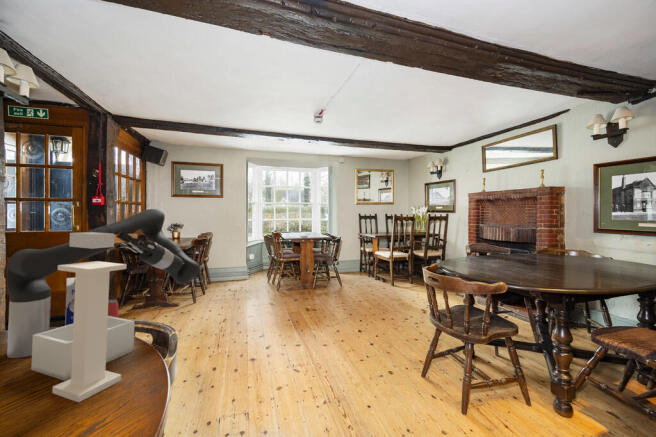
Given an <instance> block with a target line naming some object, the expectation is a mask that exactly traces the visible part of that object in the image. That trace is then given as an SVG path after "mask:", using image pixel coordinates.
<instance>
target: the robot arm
mask: <svg viewBox="0 0 656 437" xmlns="http://www.w3.org/2000/svg"><path fill="white" fill-rule="evenodd" d="M165 217H166V216H165V213H164V212H163V211H162V210H160V209H158V208H157V209H156V208H150V209H146V210H142V211H141V212H138V213H136V214H133V215H131V216H129V217H126V218H123V219H121V220H117V221H115V222H112V223H109V224H106V225H102V226H100V227H97V228H93V229H90V230H87V231H86V232H96V233H111V234H114V235H115V234H118V236H117V237H118V238H120V239H122V240H124V241H126V243H114V247H106V248H93V249H91V248H81V247H70V241H68V242H65V243H63V244H59V245H56V246H52V247H48V248H44V249H38V248H37V249H35V248H25V249H21V250H17V251H16V252H15V253H13V254H12V255H11V256H10V258H9V259H8V262H7V266H6V289H7V293H8V296H9V304H8V326H7V327H8V329H7V331H8V332H7V352H6V357H7V358H9V359H20V358H26V357H32V343H33V335H34V334H38V333H41V332H45V331H48V330H50V324H51V323H50V322H51V320H50V319H51V300H52V299H51V298H52V291H51V290H52V289H51V287H50V286H49V285H48V283H47V280H46V279H47V278H46V277H49V276H50V275H52V274H54V273H56V272H58V271H59V270H58V265H65V264H74V263H77V262H79V261H82V260H84V259H87V258H90V257H93V256H95V255H98V254H100V253H103V252H106V251H108V250H110V249H113V248H116V247H117V246H119V245H120V246H121V247H122V248H124V249H125V250H128V249H129V250H131V251H132V252H134V253H138V258H139V260H140V261H142V262H144V263H146V264H148V265H150V266H152V267H154V268H157V269H159V270H162V271H164V272H165V273H167V274H168V275H170V276H171V277H172V278H173V279H174V280H175V282H176V283H178V284H179V285H186V284H188V283H189V282H190V281H191V280H192V279H194V278H195V277H196V276H197V275H198V274H199V273H200V272H201V266H200V264H199V263H198V262H197V261H195V260H193V259H192V258H191V257H189V256H188V255H187V254H186V253H185V252H184V250H183V249H182V248H181V247H180V244H178V243H177V242H176V241H174V240H172V239H169V238H167V237H166V236H165V234H164V232H163V227H164V223H165V219H166V218H165ZM139 230H140V232H141V234H143V235H144V236H145V237H146V238H147V239H148V240H149V241H148V240H145V239H143V238H141V237H137V238H136V237H134V236H132V237H131V236H130V235H128V234H135V233H136V232H137V231H139Z"/></svg>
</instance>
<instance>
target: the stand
mask: <svg viewBox="0 0 656 437" xmlns="http://www.w3.org/2000/svg"><path fill="white" fill-rule="evenodd" d="M127 265H128V264H126V263H118V262H117V263H116V262H109V261H100V260H95V261H85V262H74V263H72V264H65V265H58V271H62V272H69V273H75V277H74V278H75V300H74V324H73V347H72V370H71V378H70V379H68V380H66V381H63V382H60V383H58V384H55V385H53V386H52V392H51V393H52V394H54V395H57V396H59V397H63V398H65V399H68V400H71V401H73V402H76V403H81V402H83V401H85V400H86V399H88V398H90V397H92V396H94V395H96V394H99V393H100V392H101V391H104V390H105V389H108V388H109V387H111V386H113V385H116V384H118V383H119V382H121V381H122V374H120V373H116V372H113V371H109V370H106V367H107V366H106V365H107V363H106V345H107V321H108V300H109V293H110V272H114V271H120V270H126V269H127Z"/></svg>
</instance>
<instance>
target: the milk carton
mask: <svg viewBox="0 0 656 437" xmlns="http://www.w3.org/2000/svg"><path fill="white" fill-rule="evenodd" d="M65 282H66V283H65V285H66V286H65V287H66V294H65V315H64V316H65V320H64V326H66V325H70V324H73V323H74V300H75V277H66V281H65Z"/></svg>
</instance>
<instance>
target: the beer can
mask: <svg viewBox="0 0 656 437" xmlns="http://www.w3.org/2000/svg"><path fill="white" fill-rule="evenodd" d="M108 316H112V317H117V318H119V303H118V300H117V299H113V298H111V299H108Z"/></svg>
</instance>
